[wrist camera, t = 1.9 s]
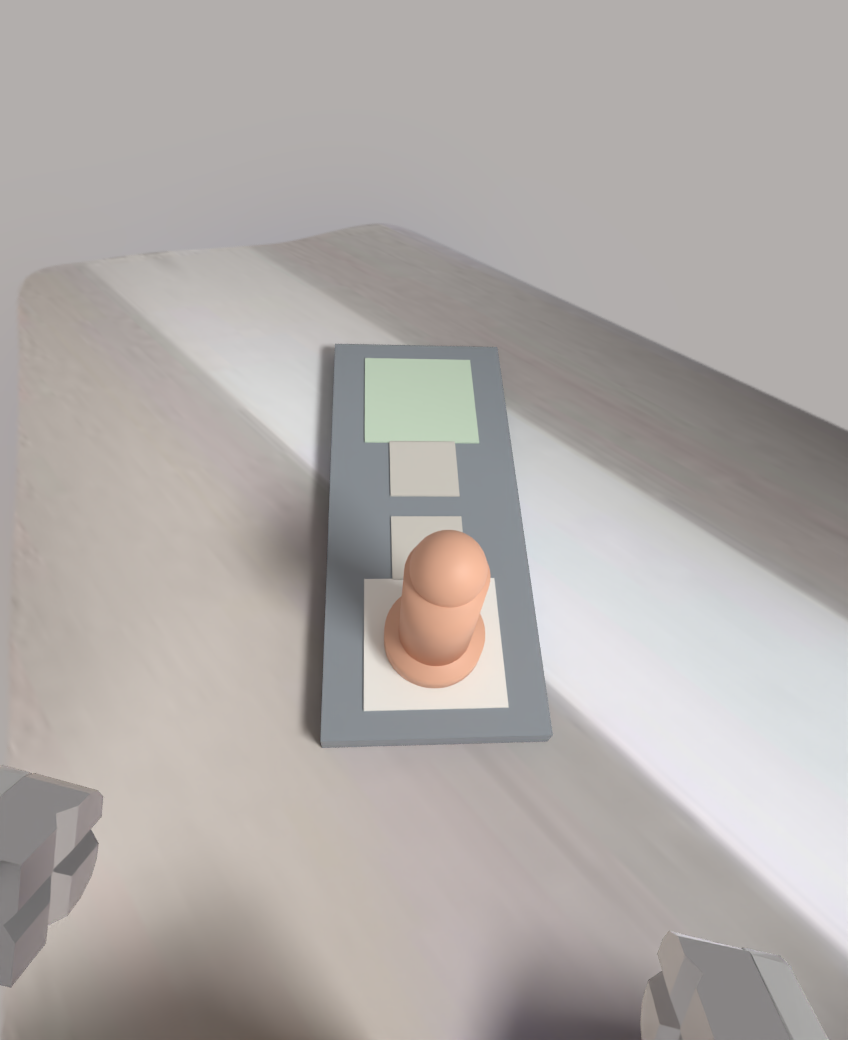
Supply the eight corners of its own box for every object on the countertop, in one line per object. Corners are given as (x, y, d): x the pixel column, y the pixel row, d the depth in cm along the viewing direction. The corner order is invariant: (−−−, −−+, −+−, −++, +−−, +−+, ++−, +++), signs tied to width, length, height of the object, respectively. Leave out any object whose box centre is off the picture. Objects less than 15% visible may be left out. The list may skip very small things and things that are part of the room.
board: (494, 359, 46) (497, 346, 45) (547, 741, 33) (553, 734, 32) (335, 356, 46) (334, 342, 44) (321, 747, 32) (320, 741, 31)
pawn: (467, 587, 36) (495, 487, 28) (493, 677, 33) (533, 595, 25) (375, 604, 35) (377, 506, 27) (395, 697, 32) (403, 619, 24)
